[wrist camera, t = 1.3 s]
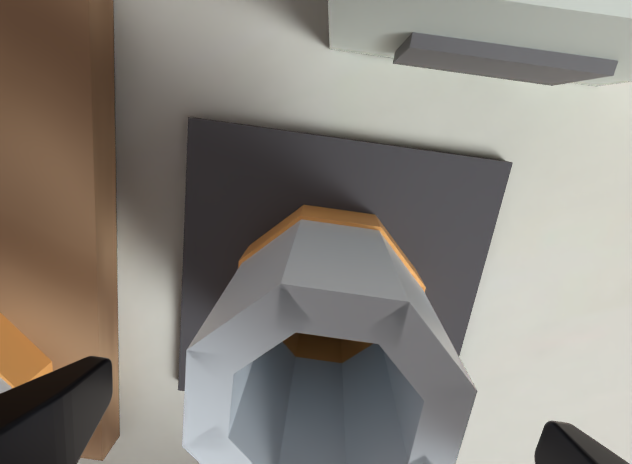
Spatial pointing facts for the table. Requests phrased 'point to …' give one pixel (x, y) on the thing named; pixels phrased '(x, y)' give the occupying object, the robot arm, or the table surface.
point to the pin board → (60, 185)
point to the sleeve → (325, 355)
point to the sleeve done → (19, 357)
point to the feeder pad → (337, 193)
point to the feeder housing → (493, 37)
